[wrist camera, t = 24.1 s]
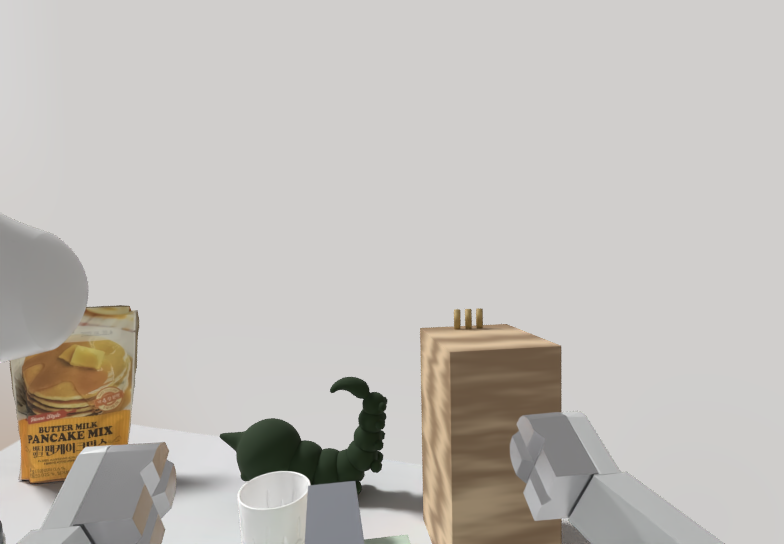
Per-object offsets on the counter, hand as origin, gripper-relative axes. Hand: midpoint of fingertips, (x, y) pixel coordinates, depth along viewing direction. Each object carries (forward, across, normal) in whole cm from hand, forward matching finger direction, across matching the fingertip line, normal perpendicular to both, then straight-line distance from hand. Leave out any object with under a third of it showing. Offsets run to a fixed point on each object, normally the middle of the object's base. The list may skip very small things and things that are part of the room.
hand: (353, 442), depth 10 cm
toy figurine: (+30, +4, +56) cm, 64 cm away
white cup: (+16, +6, +48) cm, 51 cm away
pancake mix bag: (+42, +42, +64) cm, 87 cm away
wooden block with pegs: (+16, -18, +47) cm, 53 cm away
